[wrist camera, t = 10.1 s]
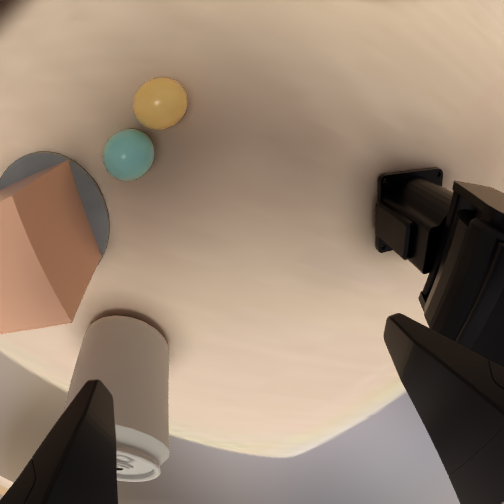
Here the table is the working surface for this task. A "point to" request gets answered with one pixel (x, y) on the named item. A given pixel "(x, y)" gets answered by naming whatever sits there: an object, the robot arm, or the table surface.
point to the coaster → (84, 183)
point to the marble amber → (160, 103)
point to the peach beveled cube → (44, 250)
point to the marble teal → (128, 154)
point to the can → (130, 390)
